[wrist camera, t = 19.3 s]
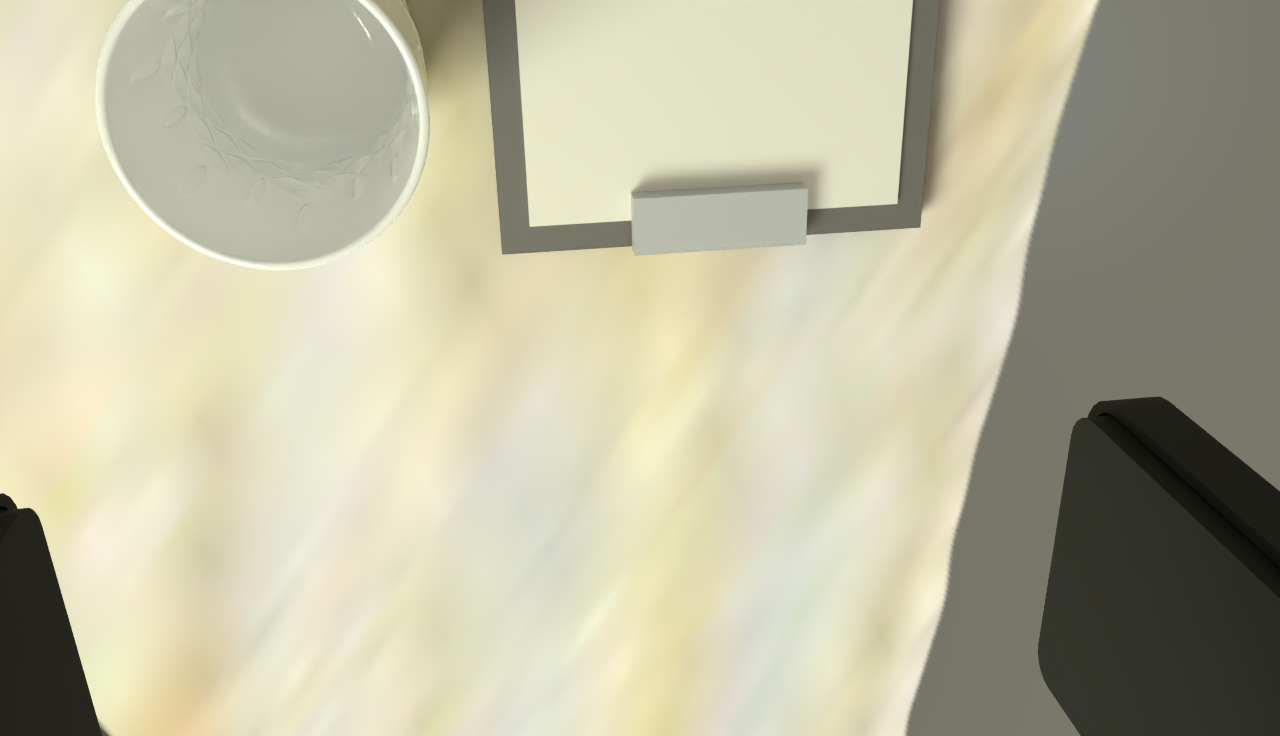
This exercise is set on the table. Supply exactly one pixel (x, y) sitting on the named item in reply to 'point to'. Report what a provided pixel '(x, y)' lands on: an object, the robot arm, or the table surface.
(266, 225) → the white cup
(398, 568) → the table surface
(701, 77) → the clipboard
